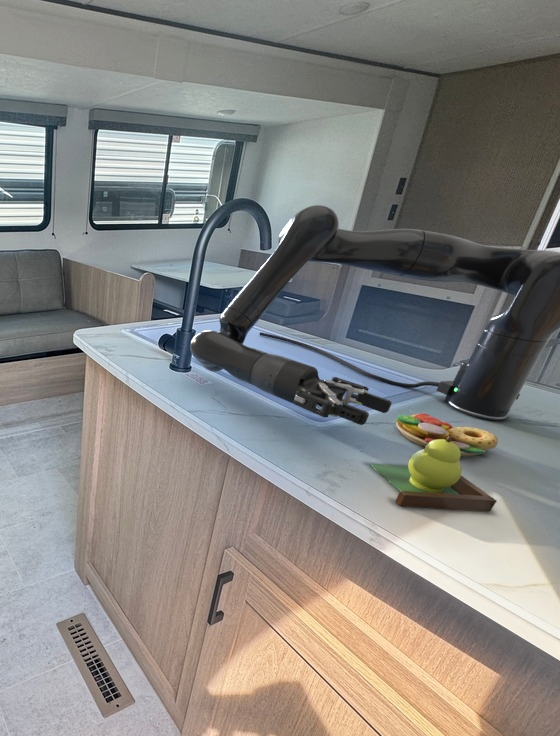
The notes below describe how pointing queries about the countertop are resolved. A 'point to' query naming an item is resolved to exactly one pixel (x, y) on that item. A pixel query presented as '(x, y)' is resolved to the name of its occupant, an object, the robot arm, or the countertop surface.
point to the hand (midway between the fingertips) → (378, 413)
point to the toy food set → (445, 433)
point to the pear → (436, 466)
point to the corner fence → (446, 499)
